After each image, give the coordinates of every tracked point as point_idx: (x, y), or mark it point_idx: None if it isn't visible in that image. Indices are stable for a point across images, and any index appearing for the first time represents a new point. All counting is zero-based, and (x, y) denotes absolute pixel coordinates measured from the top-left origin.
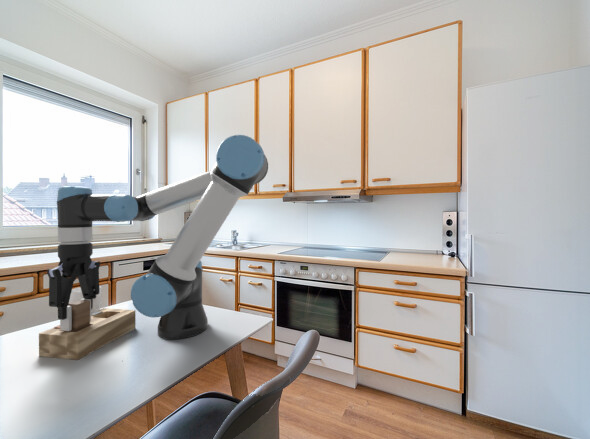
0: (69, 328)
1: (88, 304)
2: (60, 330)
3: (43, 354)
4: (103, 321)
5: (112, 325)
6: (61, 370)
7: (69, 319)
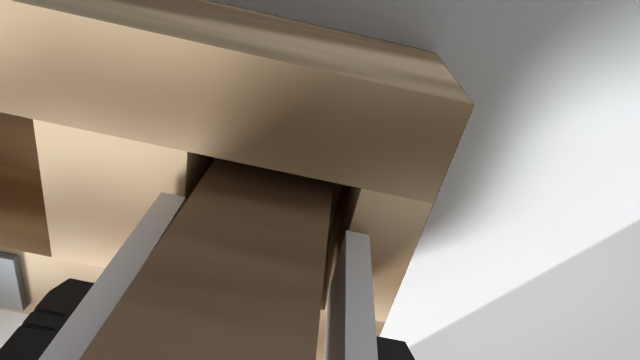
0: (364, 246)
1: (135, 326)
2: None
3: None
4: (110, 101)
5: (100, 7)
6: (553, 64)
7: (366, 306)
